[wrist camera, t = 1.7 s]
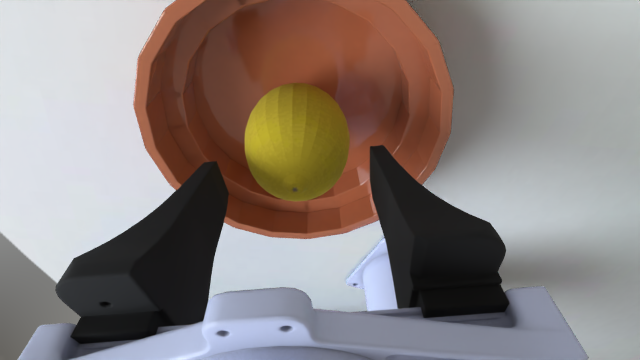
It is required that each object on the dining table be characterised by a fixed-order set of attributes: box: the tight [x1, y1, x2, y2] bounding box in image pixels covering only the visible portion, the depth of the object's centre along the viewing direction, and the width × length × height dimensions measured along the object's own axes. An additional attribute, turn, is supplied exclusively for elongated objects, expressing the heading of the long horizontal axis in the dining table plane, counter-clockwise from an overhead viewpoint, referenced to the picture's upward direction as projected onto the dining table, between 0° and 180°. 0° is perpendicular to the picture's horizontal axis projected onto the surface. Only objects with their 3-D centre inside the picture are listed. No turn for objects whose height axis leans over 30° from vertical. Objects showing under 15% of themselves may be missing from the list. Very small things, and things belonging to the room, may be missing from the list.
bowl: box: [133, 0, 454, 239], centre depth 19 cm, size 16×16×4 cm
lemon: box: [245, 83, 350, 201], centre depth 17 cm, size 6×6×8 cm
